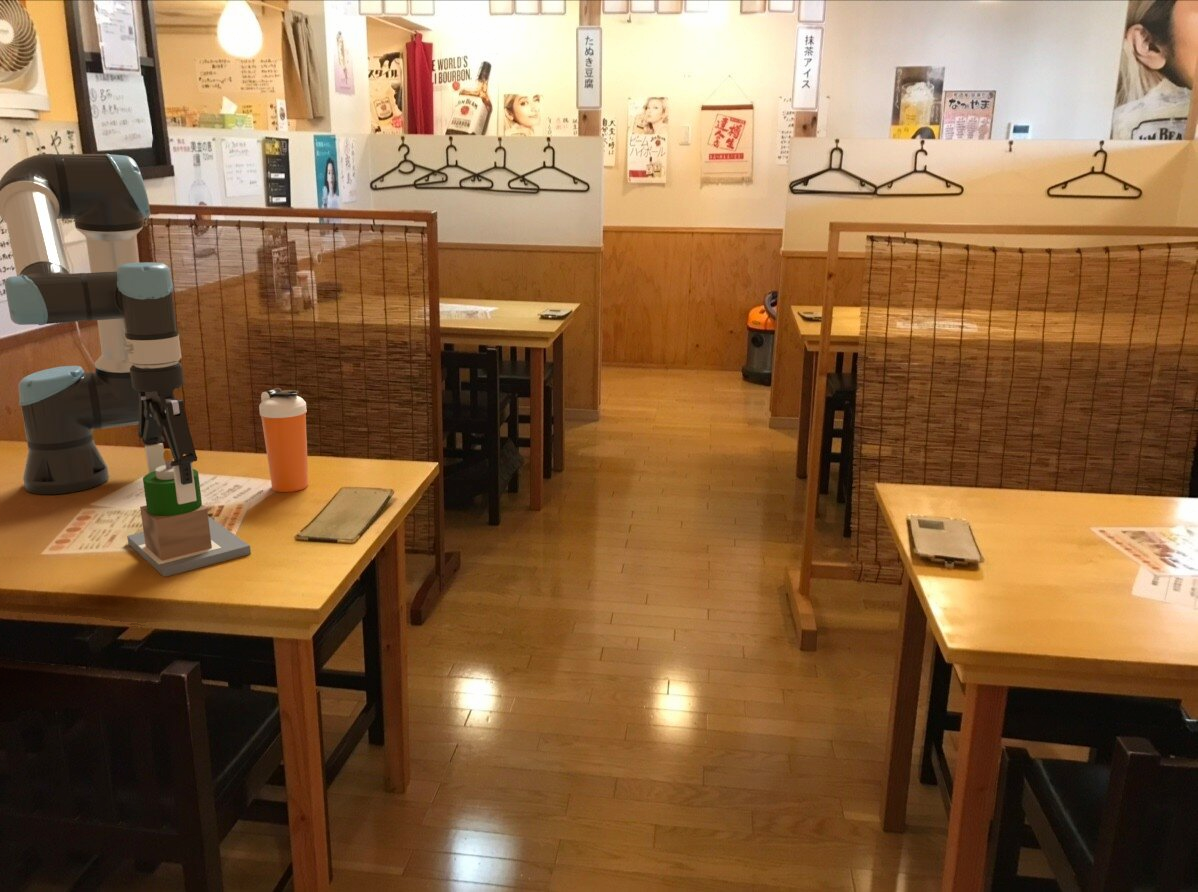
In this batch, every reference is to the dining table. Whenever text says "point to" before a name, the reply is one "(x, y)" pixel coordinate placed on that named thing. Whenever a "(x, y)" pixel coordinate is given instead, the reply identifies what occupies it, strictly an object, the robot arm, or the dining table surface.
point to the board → (222, 550)
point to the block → (176, 533)
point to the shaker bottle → (285, 438)
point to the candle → (167, 491)
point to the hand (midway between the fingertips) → (172, 491)
